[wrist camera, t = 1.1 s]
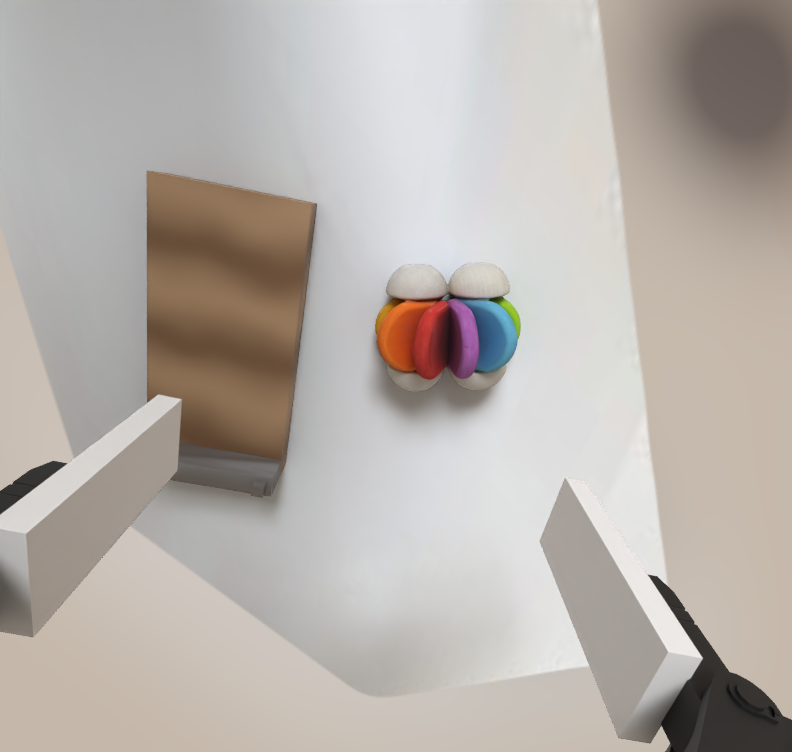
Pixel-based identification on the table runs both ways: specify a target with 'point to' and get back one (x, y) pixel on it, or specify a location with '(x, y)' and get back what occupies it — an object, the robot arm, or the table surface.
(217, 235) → the wooden display stand
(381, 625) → the table surface
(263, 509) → the table surface
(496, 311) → the rainbow wooden ball puzzle
